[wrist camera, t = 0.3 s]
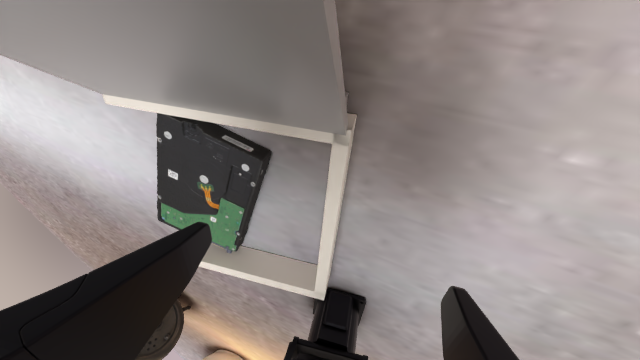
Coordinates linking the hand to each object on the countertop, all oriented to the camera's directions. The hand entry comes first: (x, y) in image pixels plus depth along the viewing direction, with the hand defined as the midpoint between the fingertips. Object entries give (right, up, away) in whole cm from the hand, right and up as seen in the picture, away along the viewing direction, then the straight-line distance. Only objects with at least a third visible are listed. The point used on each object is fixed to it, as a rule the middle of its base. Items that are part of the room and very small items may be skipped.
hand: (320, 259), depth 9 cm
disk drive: (-12, +3, +19) cm, 22 cm away
